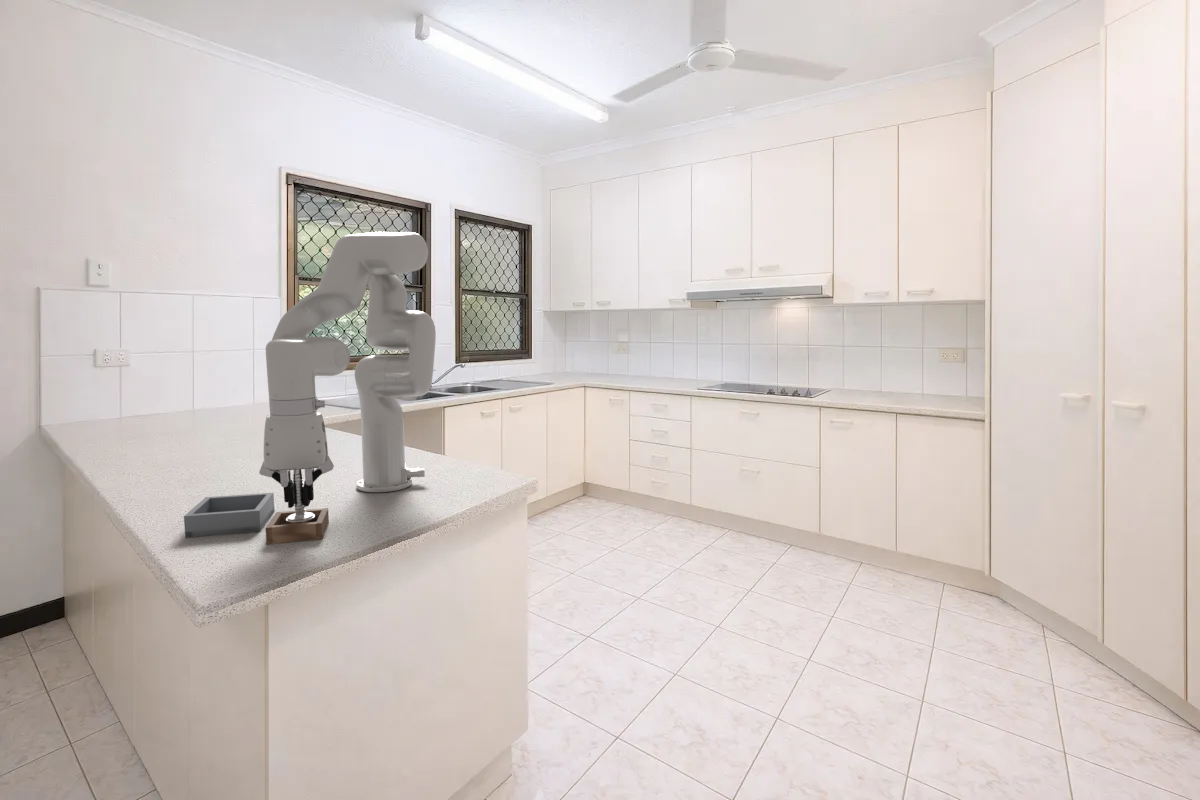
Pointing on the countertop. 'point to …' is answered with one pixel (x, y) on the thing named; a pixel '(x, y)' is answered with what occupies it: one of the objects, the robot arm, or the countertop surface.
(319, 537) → the frame
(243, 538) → the countertop surface
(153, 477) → the countertop surface
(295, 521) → the screw
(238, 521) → the bin
